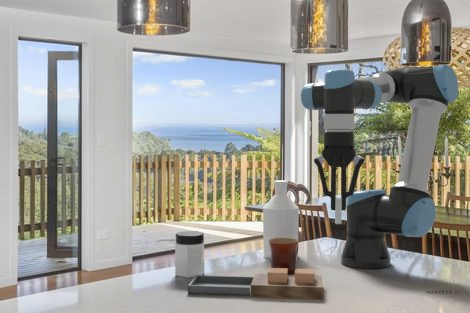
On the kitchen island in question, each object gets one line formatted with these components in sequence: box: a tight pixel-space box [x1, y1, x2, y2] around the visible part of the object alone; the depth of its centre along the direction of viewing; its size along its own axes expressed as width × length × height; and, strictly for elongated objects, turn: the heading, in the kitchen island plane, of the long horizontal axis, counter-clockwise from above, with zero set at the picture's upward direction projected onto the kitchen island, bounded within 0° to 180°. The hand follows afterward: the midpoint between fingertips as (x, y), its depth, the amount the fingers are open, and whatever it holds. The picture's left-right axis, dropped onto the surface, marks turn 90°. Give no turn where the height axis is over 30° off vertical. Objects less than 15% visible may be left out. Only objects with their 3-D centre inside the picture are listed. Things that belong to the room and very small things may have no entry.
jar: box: [174, 230, 205, 279], centre depth 175 cm, size 9×8×12 cm
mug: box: [269, 238, 300, 275], centre depth 174 cm, size 12×9×10 cm
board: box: [250, 273, 324, 300], centre depth 156 cm, size 18×12×3 cm, turn 83°
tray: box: [187, 274, 254, 297], centre depth 159 cm, size 16×11×2 cm
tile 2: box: [295, 268, 316, 283], centre depth 156 cm, size 5×5×2 cm
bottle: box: [262, 179, 300, 260], centre depth 199 cm, size 12×12×25 cm
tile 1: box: [267, 267, 288, 283], centre depth 156 cm, size 5×5×2 cm
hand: (338, 222), depth 154 cm, fingers closed
